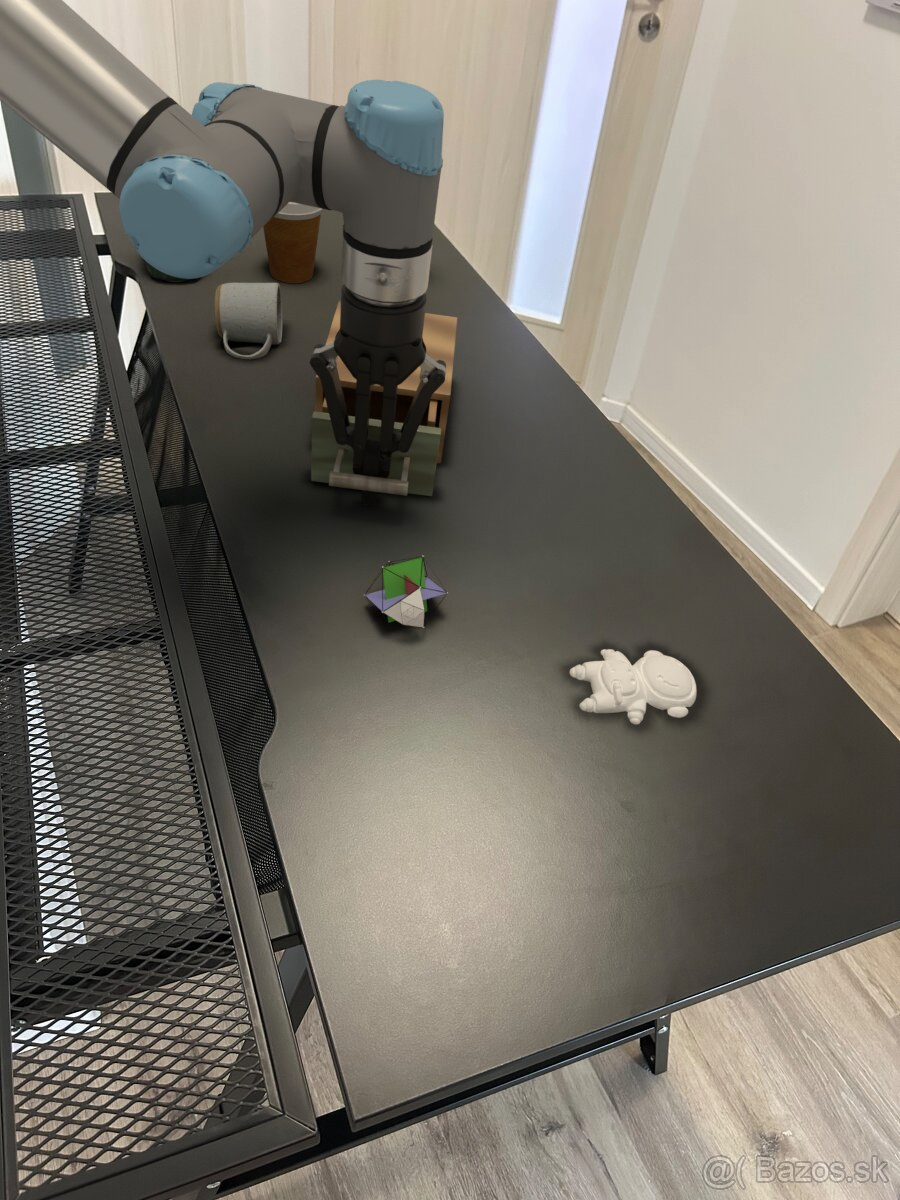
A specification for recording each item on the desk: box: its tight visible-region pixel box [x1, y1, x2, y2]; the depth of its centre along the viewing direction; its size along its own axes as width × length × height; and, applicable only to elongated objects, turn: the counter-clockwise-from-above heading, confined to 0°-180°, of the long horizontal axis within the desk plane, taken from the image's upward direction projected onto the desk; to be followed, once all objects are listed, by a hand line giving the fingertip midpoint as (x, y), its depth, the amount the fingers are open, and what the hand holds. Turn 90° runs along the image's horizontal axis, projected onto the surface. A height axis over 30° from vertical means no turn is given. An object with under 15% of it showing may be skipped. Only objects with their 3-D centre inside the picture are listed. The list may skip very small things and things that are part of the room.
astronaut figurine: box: [569, 648, 697, 725], centre depth 78 cm, size 9×12×3 cm
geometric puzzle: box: [363, 555, 449, 631], centre depth 80 cm, size 7×7×8 cm
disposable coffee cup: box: [262, 202, 324, 284], centre depth 124 cm, size 10×10×12 cm
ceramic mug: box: [214, 282, 284, 360], centre depth 110 cm, size 11×8×8 cm
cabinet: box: [314, 300, 458, 464], centre depth 102 cm, size 18×15×10 cm
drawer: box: [310, 387, 441, 497], centre depth 95 cm, size 22×13×8 cm, turn 177°
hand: (369, 497), depth 91 cm, fingers closed
